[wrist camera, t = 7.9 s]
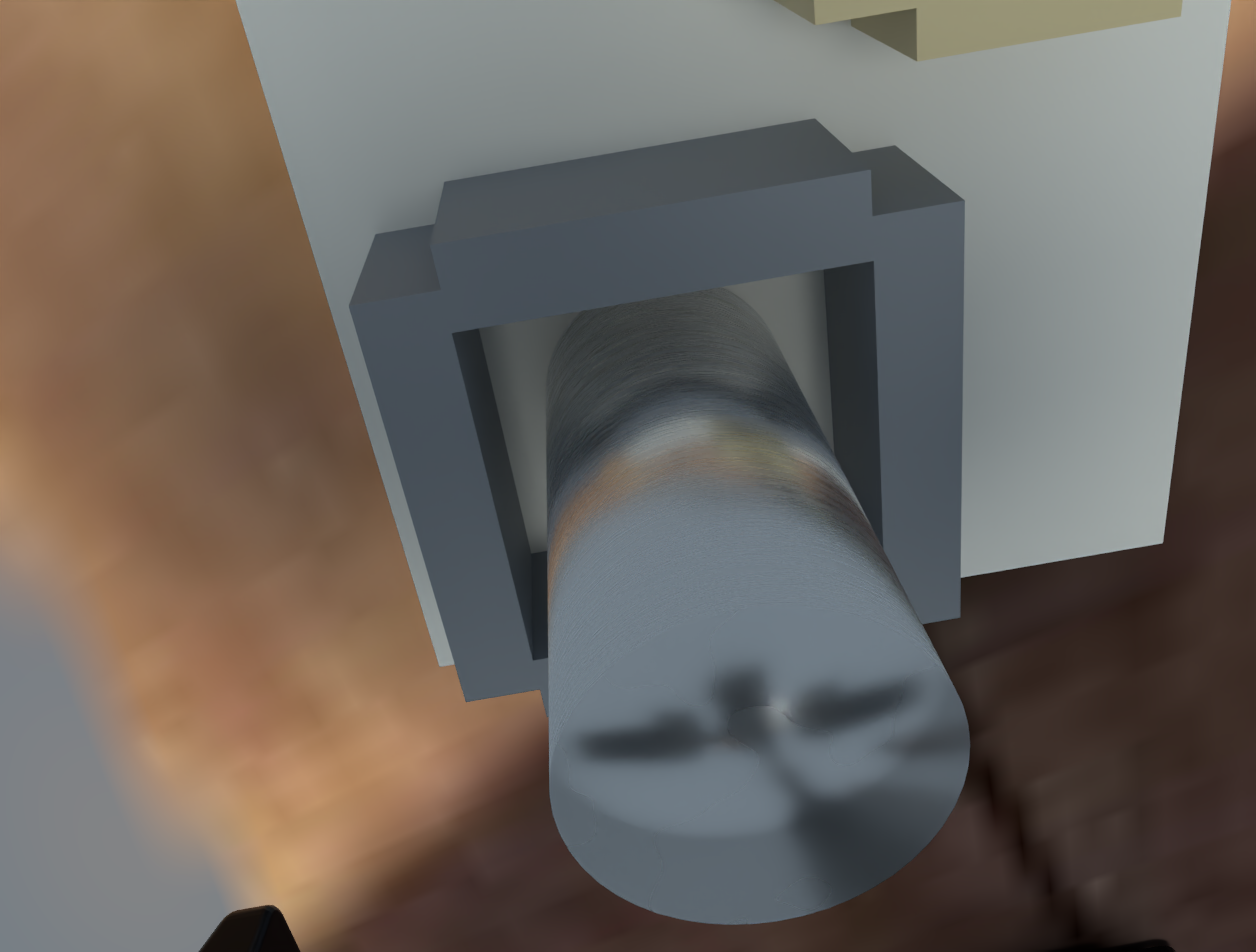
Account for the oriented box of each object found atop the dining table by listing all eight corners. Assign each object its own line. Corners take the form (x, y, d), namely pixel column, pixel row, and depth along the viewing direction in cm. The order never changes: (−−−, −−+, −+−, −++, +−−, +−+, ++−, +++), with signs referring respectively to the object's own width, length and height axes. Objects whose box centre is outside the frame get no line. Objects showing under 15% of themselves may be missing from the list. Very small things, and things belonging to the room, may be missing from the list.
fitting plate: (1137, 515, 22) (1254, 641, 18) (442, 634, 22) (427, 783, 18) (1254, -556, 14) (1506, -695, 10) (144, -366, 14) (15, -440, 10)
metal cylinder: (793, 474, 19) (971, 888, 11) (569, 512, 19) (589, 951, 11) (772, 255, 17) (969, 570, 9) (523, 300, 17) (509, 649, 9)
